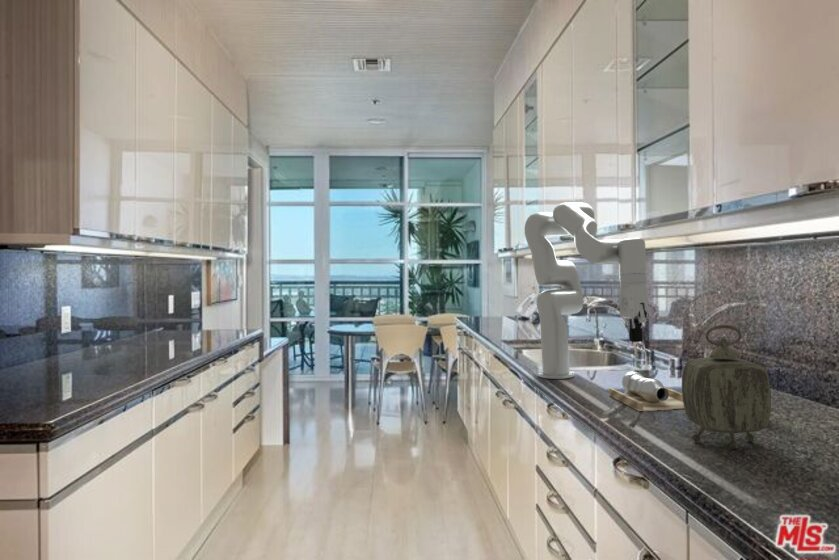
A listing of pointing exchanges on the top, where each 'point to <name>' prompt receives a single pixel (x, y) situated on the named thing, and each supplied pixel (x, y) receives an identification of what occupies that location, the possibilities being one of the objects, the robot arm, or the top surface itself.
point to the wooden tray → (642, 405)
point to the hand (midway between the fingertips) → (636, 341)
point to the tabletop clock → (726, 392)
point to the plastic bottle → (645, 387)
